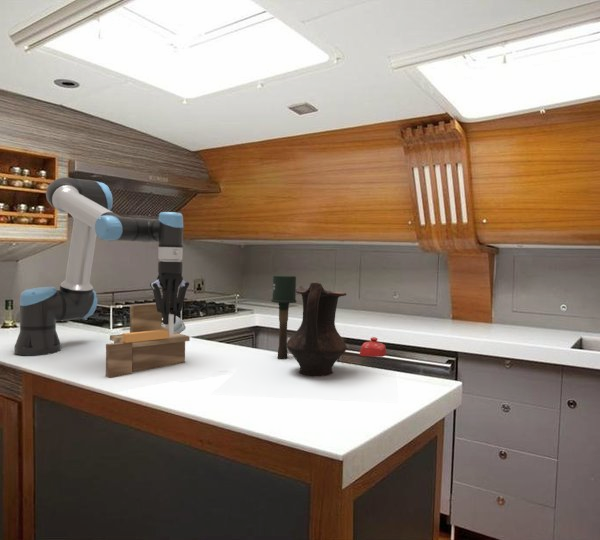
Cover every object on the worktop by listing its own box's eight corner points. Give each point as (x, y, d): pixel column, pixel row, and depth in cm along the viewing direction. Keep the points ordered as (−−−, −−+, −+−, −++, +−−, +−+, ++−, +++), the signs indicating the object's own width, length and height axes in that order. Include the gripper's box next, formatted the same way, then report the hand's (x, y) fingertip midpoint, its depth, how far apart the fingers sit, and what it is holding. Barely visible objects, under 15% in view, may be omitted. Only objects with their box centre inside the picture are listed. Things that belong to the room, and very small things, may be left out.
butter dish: (391, 359, 184) (392, 336, 184) (386, 365, 173) (387, 341, 173) (360, 356, 188) (361, 333, 187) (354, 362, 177) (354, 338, 176)
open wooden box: (88, 367, 158) (89, 337, 157) (164, 357, 176) (164, 330, 175) (109, 377, 146) (109, 345, 146) (187, 365, 164) (188, 336, 164)
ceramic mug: (168, 342, 212) (156, 328, 212) (183, 330, 217) (171, 316, 217) (174, 337, 203) (162, 322, 203) (190, 325, 208) (178, 310, 208)
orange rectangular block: (122, 341, 151) (122, 333, 151) (164, 337, 161) (164, 329, 161) (126, 342, 149) (126, 334, 149) (168, 338, 159) (168, 330, 159)
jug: (291, 368, 164) (293, 277, 163) (347, 372, 161) (350, 279, 160) (278, 385, 143) (280, 280, 142) (342, 389, 140) (345, 283, 139)
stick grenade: (281, 358, 178) (283, 274, 177) (299, 362, 173) (302, 276, 171) (264, 362, 171) (266, 275, 170) (283, 366, 166) (285, 276, 165)
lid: (109, 342, 163) (110, 304, 163) (165, 336, 177) (166, 301, 176) (131, 350, 151) (131, 309, 151) (189, 343, 165) (190, 306, 165)
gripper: (157, 261, 152) (156, 338, 153) (194, 261, 161) (193, 334, 162) (145, 260, 158) (144, 334, 159) (182, 260, 167) (181, 330, 168)
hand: (169, 334), depth 160 cm, fingers closed
